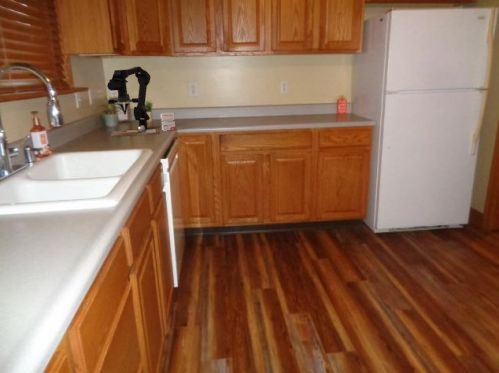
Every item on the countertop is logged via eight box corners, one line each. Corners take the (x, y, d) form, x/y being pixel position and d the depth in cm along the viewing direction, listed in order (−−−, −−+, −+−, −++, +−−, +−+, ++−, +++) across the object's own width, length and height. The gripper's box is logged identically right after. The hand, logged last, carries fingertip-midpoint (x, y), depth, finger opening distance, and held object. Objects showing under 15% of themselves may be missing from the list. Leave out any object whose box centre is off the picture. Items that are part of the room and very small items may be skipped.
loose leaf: (127, 131, 247) (126, 126, 246) (144, 130, 249) (143, 125, 248) (126, 133, 238) (125, 127, 237) (143, 132, 241) (143, 126, 240)
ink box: (174, 129, 260) (172, 112, 257) (175, 130, 256) (174, 112, 252) (161, 130, 257) (160, 113, 254) (163, 131, 252) (161, 113, 249)
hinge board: (113, 134, 247) (112, 126, 245) (158, 131, 253) (157, 124, 252) (111, 137, 235) (110, 129, 234) (158, 134, 242) (157, 126, 240)
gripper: (105, 91, 235) (108, 116, 239) (136, 89, 239) (139, 114, 243) (107, 90, 245) (110, 114, 250) (137, 89, 249) (140, 113, 254)
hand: (125, 114), depth 249 cm, fingers closed
